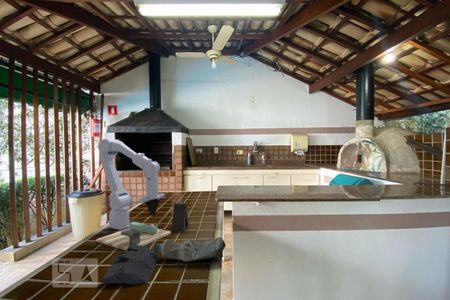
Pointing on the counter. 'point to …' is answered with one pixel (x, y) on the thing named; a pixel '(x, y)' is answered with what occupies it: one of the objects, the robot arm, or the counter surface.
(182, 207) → the phone stand
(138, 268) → the dark grey cloth
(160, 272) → the counter surface
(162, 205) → the counter surface
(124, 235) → the keeper board
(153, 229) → the link
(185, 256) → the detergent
